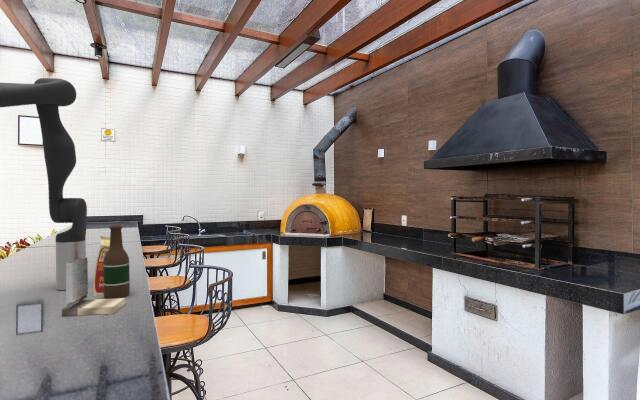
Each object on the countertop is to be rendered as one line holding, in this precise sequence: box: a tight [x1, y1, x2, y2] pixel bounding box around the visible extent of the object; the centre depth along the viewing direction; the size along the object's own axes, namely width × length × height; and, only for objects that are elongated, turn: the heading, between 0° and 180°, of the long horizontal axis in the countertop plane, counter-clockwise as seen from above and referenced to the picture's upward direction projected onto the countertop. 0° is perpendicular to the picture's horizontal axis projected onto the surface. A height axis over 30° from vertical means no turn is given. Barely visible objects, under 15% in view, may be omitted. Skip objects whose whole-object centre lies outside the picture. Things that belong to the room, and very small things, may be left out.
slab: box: [65, 257, 89, 307], centre depth 107 cm, size 2×9×13 cm, turn 9°
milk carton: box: [92, 235, 124, 297], centre depth 129 cm, size 9×9×20 cm
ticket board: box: [61, 297, 126, 317], centre depth 107 cm, size 14×9×2 cm, turn 99°
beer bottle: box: [103, 224, 131, 299], centre depth 122 cm, size 8×8×24 cm
